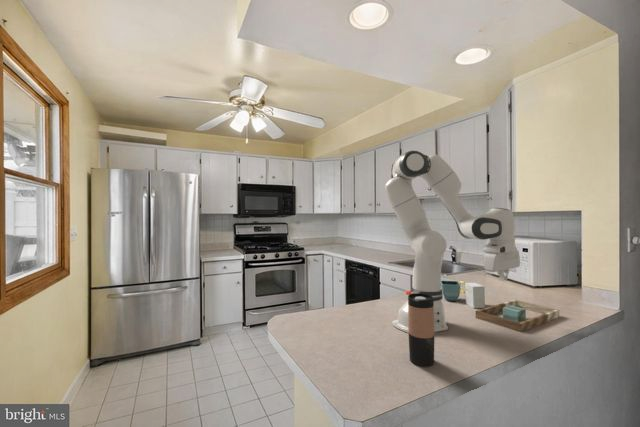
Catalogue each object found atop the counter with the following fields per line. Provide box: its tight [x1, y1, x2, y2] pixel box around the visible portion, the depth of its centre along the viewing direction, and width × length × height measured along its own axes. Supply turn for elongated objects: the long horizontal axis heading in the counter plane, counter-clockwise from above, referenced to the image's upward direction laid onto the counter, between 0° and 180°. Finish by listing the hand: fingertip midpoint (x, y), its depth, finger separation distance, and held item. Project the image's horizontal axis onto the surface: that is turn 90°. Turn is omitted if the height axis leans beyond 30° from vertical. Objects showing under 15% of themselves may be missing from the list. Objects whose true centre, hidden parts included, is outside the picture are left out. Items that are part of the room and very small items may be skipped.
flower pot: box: [441, 280, 461, 302], centre depth 153 cm, size 9×9×9 cm
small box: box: [464, 282, 486, 309], centre depth 142 cm, size 8×6×10 cm
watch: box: [459, 280, 466, 293], centre depth 168 cm, size 6×3×6 cm, turn 20°
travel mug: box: [407, 293, 435, 368], centre depth 90 cm, size 8×8×20 cm
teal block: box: [502, 306, 527, 323], centre depth 125 cm, size 6×6×4 cm
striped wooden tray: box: [475, 299, 560, 333], centre depth 126 cm, size 31×18×3 cm, turn 119°
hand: (503, 280), depth 121 cm, fingers closed
